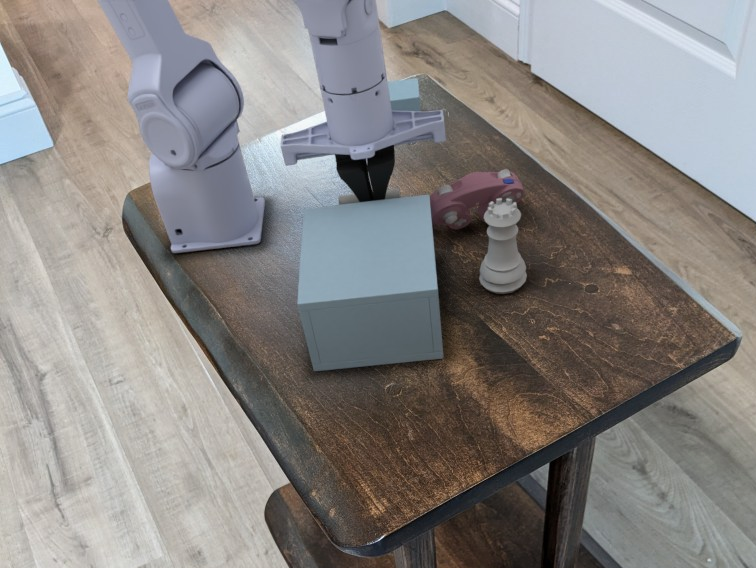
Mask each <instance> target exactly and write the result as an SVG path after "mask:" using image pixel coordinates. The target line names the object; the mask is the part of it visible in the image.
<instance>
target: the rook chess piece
mask: <svg viewBox="0 0 756 568" xmlns="http://www.w3.org/2000/svg"><path fill="white" fill-rule="evenodd" d="M521 217H522V213H521V210H520V209H519V208H518V204H517V203H516V202H514V203H513V204H512V199H509V198H507V199H506V203H503V202H502V198H498V199H496V204H494V202H493V201H491V202H490V203H489V207H488V210H487V211H486V212H485V214H484V220H485V221H484V222H485V223H486V224H487V225H488V227H487V229H486V234H487V236H488V246H487V253H486V254H485V256H484V259H483V260H481V264H480V267H479V277H478V280H479V282H480V285H481V286H482V287H484V288H485V289H486V290H487V291H488V292H490V293H493V294H496V295H505V294H506V295H507V294H511V293H514V292H516V291H517V290H519V289H520V288H521V287H522V286H524V284H525V283H526V281H527V276H528V274H527V272H526V271H527V265H526V262H525V260H524V258H523V257H522V255H521V253H520V252H519V248H518V243H517V235H518V233H519V227H518V225H517V223H518V222H519V221H520V220H521Z"/></svg>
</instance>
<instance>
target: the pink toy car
mask: <svg viewBox="0 0 756 568" xmlns="http://www.w3.org/2000/svg"><path fill="white" fill-rule="evenodd" d="M524 195H525V191H524V188H523V183H522V182H521V181H520V179H519V177H518V176H517V175H516V174H515V173H514V172H513V171H511V170H509V169H508V168H504V169H502V170H500V171H474V172H470V173H468V174H465V175H464V176H462V177H461V178H459V179H457V180H456V181H454V182H452V183H450V184H449V183H448V184H443V185H441V186H440V187H439V188H437V189H436V190H435V191H433V192H432V193H431V194H429V196H430V207H431V218H432V227H435V226H438V225H440V226H441V225H442V226H448V227H449V228H450V229H451V230H461V229H464V228H465V227H467V226H468V225H469V224H470V223H471V221H472V216H471V211H470V210H469V209H472V208H475V207H477V209H476V210H477V213H478V216H479V218H480V221H481V222H485V220H484V214H485V212H486V211H487V210H488V207H489V203H490V202H491V201H493V202H494V204H496V199H498V198H502V202H503V203H506V199H507V198H509V199H512V204H513V203H514V202H516V204H517V203H519V202H520V201H521V200H523V198H524Z"/></svg>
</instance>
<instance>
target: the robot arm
mask: <svg viewBox="0 0 756 568" xmlns="http://www.w3.org/2000/svg"><path fill="white" fill-rule="evenodd" d="M96 1H97V3H98V4H99V6H100V8H101V10H102V11H103V13H104V14H105V17H106V19H107V20H108V22H109V23H110V25H111V27H112V29H113V31H114V32H115V34H116V36H117V38H118V39H119V41H120V43H121V44H122V47H123V48H124V50H125V51H126V54H127V56H128V57H129V58H130V60H131V72H130V78H129V83H128V84H129V85H128V89H127V97H126V98H127V101H128V104H129V105H130V107H131V109H132V110H133V113H134V114H135V117H136V119H137V122H138V123H137V124H138V129H139V132H140V136H141V138H142V141H143V143H144V144H145V145H146V147H147V148H148V150H149V151H150V152H151V154H150V156H149V160H148V175H149V181H150V187H151V191H152V194H153V198H154V201H155V203H156V206H157V209H158V211H159V215H160V217H161V220H162V223H163V226H164V228H165V231H166V234H167V237H168V240H169V241H170V244H171V245H170V251H171V253H173V254H181V253H190V252H198V251H199V252H200V251H207V250H214V249H215V250H217V249H223V248H224V249H225V248H231V247H232V248H233V247H242V246H251V245H258V244H259V243H260V242H261V239H262V231H263V223H264V214H265V207H266V206H265V204H266V200H265V198H264V197H262V196H260V197H254V193H253V190H252V185H251V182H250V179H249V174H248V171H247V167H246V163H245V159H244V156H243V152H242V148H241V144H240V141H239V137H238V135H239V133H240V132H241V130H240V126H239V122H238V119H239V118H240V117H241V115H242V113H243V111H244V108H245V97H244V93H243V90H242V87H241V86H240V83H239V82H238V80H237V78H236V77H235V75H233V73H232V72H231V71H230V70H229V69H228V68H227V66H225V65H224V63H222V61H221V60H220V58H219V57H218V55H217V54H216V52H215V50H214V48H213V46H212V44H211V43H210V42H208V41H206V40H204V39H201V38H198V37H195V36H193V35H190V34H187V33H186V31H185V30H184V28H183V26H182V24H181V23H180V21H179V19H178V17H177V15H176V13H175V11H174V9H173V7H172V5H171V3H170V1H169V0H96ZM292 2H293V3H294V4H295V5H296V6H297V8H298V9H299V11H300V13H301V17H302V20H303V25H304V29H306V30H307V31H308V37H309V42H310V46H311V47H310V48H311V51H312V55H313V60H314V65H315V70H316V74H317V75H316V76H317V80H318V84H319V89H320V95H321V99H322V104H323V109H324V114H325V119H326V121H324V122H322V123H318V124H315V125H312V126H310V127H308V128H304V129H301V130H298V131H293V132H290V133H285V134H282V135H281V136H280V150H281V154H282V158H283V161H284V165H285V166H286V167H287V166H294V165H297V164H298V161H301V160H302V161H303V160H309V159H315V158H320V157H328V156H334V157H335V163H336V164H335V166H336V167H335V168H336V172H337V175H338V176H339V178H340V179H341V181H343V182H344V183H345V185H346V186H347V187H348V188H349V189H350V191H351V192H352V194H355V196H356V197H357V199H358V200H359V202H367V201H376V200H384V199H385V196H386V191H387V190H388V188H389V187H388V186H389V184H390V181H391V178H392V175H393V173H394V169H395V165H396V153H395V152H396V151H395V150H396V149H395V146H399V145H406V144H411V143H418V142H424V141H425V142H426V141H431V140H433V143H435V144H438V143H444V142H446V141H447V134H446V125H445V124H446V123H445V116H444V110H443V109H437V110H421V111H392V109H391V102H390V95H389V89H388V82H389V81H388V75H387V67H386V61H385V55H384V54H385V53H384V46H383V40H382V33H381V25H380V19H379V13H378V6H377V0H292Z"/></svg>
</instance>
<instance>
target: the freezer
mask: <svg viewBox="0 0 756 568" xmlns="http://www.w3.org/2000/svg"><path fill="white" fill-rule="evenodd" d="M433 230H434V229H433V226H432V218H431V207H430V194H429V193H428V194H420V195H419V194H418V195H411V196H403V197H402V196H401V198H393V199H384V200H376V201H367V202H359V203H350V204H341V205H339V204H332V205H326V206H316V207H308V208H303V213H302V225H301V241H300V242H301V243H300V256H299V257H300V258H299V270H298V287H297V302H296V305H297V309H298V314H299V317H300V322H301V325H302V330H303V333H304V337H305V342H306V345H307V349H308V350H307V351H308V353H309V358H310V363H311V365H312V368H313V372H323V371H333V370H343V369H354V368H362V367H363V368H364V367H373V366H381V365H382V366H383V365H392V364H402V363H411V362H422V361H433V360H440V359H444V346H443V335H442V334H443V333H442V322H441V311H440V310H441V309H440V298H439V287H438V275H437V264H436V254H435V253H436V252H435V242H434V231H433Z"/></svg>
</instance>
